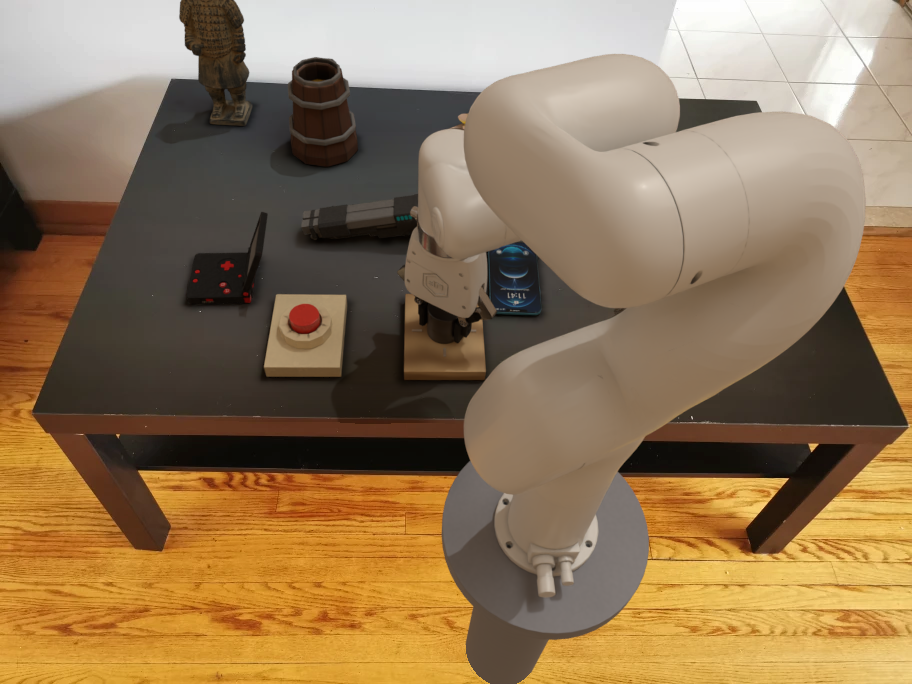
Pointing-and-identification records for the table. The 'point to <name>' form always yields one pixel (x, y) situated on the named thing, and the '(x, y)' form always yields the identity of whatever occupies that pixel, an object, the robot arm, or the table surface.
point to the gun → (362, 219)
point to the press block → (307, 338)
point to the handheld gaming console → (227, 273)
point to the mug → (321, 113)
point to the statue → (219, 55)
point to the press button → (304, 318)
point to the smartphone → (514, 280)
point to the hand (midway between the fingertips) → (444, 326)
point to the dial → (440, 324)
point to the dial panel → (441, 351)
